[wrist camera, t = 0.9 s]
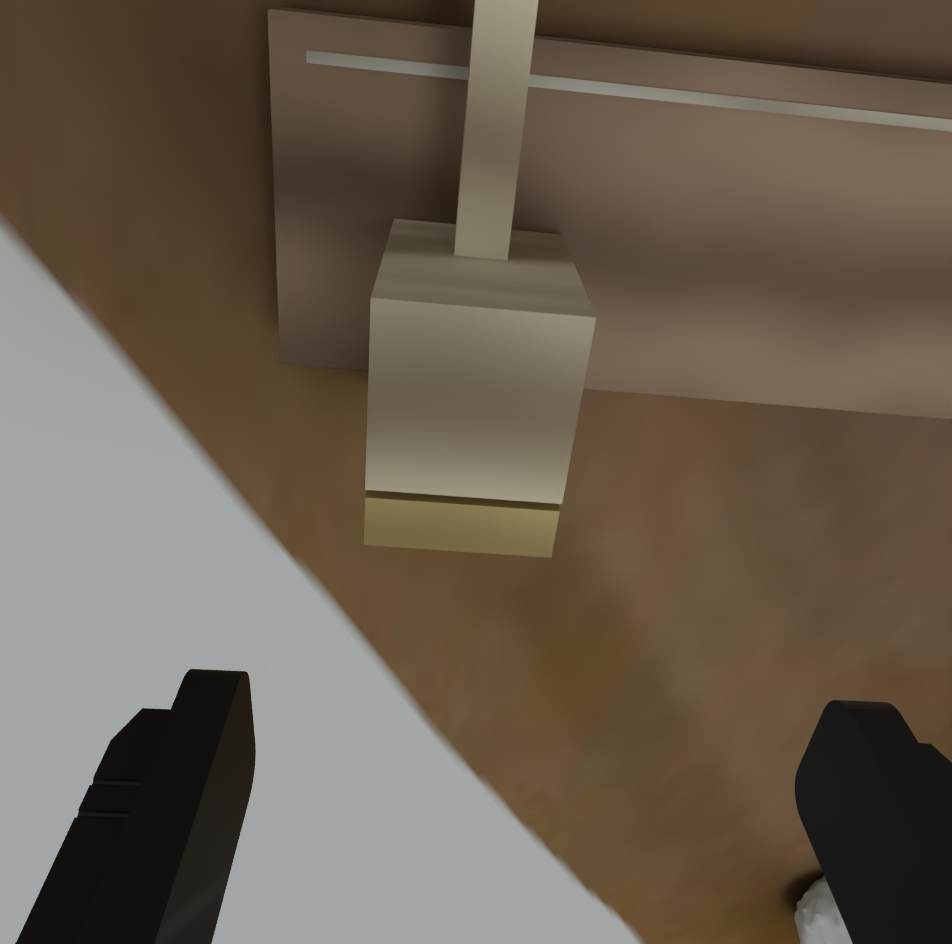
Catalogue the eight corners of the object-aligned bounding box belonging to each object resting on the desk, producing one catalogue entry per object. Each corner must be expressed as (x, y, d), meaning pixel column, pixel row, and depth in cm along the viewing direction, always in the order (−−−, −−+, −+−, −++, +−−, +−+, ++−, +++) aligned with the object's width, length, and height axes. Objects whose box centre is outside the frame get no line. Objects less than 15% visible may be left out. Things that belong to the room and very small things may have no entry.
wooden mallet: (412, -109, 21) (383, -168, 13) (599, -87, 21) (679, -131, 13) (390, 395, 28) (363, 546, 21) (527, 406, 29) (551, 559, 21)
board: (285, 7, 22) (266, 9, 20) (1203, 108, 24) (1274, 120, 22) (293, 336, 28) (279, 365, 26) (1049, 400, 29) (1095, 432, 27)
